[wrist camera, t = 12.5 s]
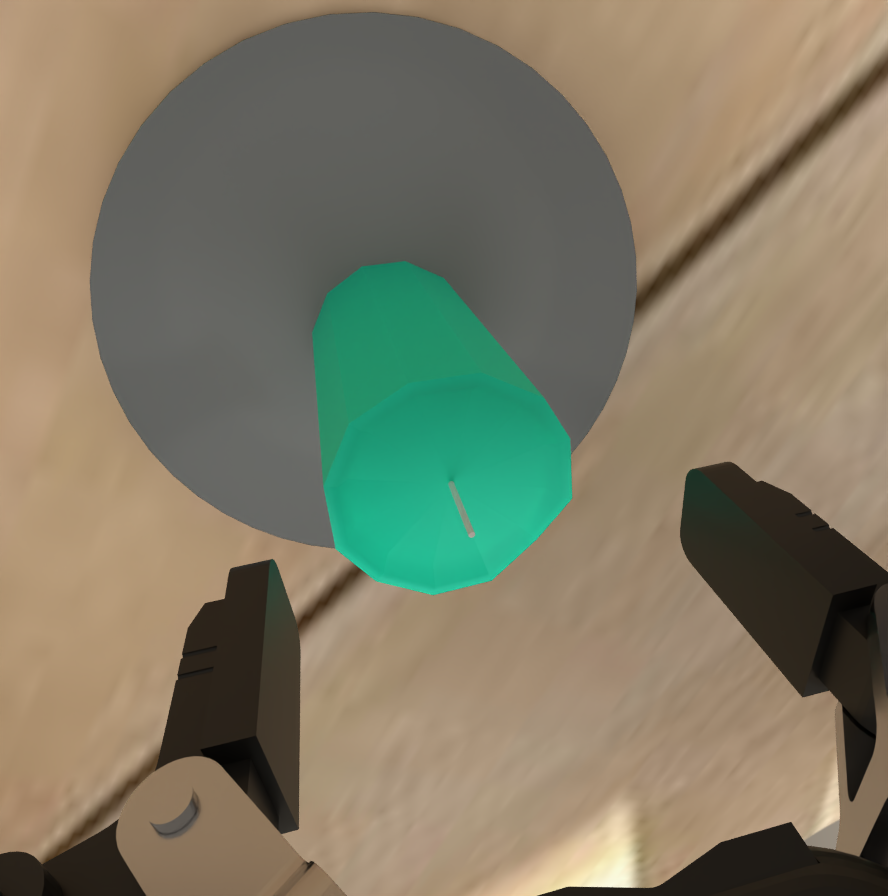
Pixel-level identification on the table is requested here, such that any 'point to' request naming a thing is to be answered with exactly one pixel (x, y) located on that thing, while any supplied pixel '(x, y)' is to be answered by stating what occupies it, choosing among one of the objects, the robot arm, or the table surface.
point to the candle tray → (346, 241)
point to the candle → (429, 435)
